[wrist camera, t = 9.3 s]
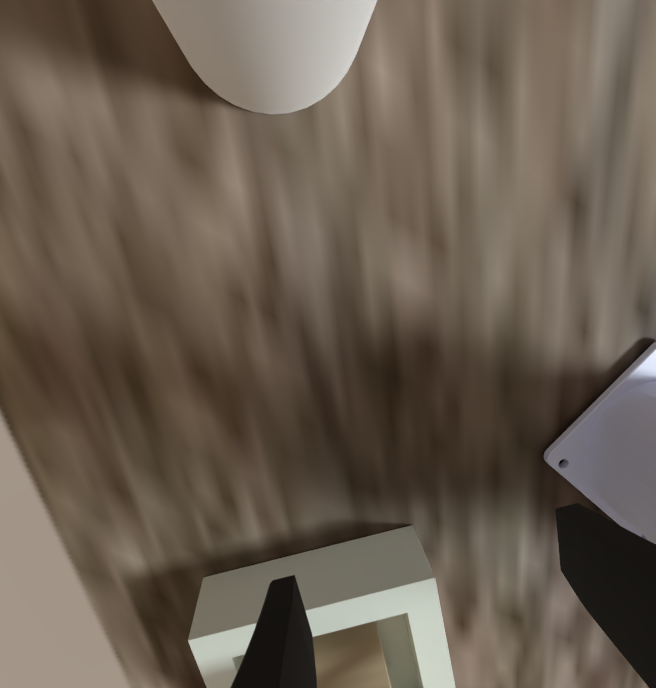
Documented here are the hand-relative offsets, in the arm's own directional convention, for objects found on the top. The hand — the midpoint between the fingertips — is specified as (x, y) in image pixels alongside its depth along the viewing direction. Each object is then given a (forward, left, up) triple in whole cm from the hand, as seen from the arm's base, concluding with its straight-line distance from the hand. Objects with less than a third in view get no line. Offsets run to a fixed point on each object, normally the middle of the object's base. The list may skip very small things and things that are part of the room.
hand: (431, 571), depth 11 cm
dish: (-7, +11, -9) cm, 16 cm away
